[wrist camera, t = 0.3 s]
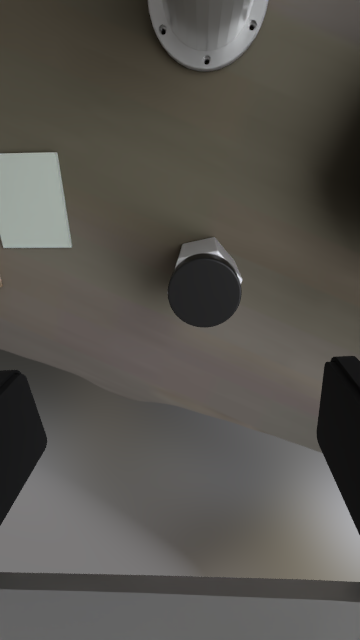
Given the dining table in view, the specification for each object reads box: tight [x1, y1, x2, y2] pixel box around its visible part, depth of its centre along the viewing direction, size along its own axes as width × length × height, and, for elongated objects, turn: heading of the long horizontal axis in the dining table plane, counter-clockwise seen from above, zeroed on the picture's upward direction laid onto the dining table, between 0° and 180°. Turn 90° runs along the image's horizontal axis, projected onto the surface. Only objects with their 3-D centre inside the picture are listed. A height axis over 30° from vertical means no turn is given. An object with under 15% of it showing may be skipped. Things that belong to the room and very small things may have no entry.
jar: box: [167, 237, 242, 327], centre depth 39 cm, size 9×8×12 cm
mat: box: [0, 152, 72, 248], centre depth 42 cm, size 12×10×1 cm
